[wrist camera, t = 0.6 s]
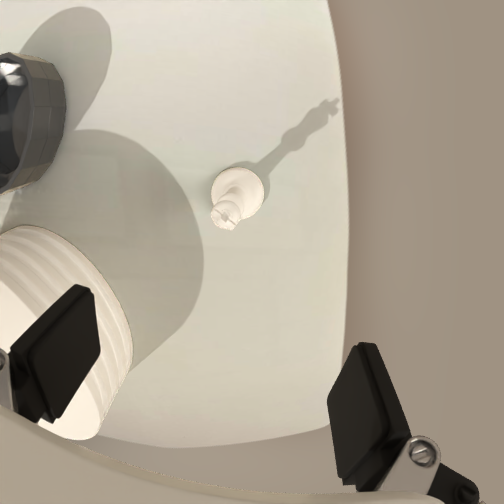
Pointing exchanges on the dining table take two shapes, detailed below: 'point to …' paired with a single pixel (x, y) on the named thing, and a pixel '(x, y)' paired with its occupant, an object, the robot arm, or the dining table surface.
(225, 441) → the dining table surface
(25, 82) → the grey faceted round tub
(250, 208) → the chess piece
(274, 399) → the dining table surface
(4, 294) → the plate stack
